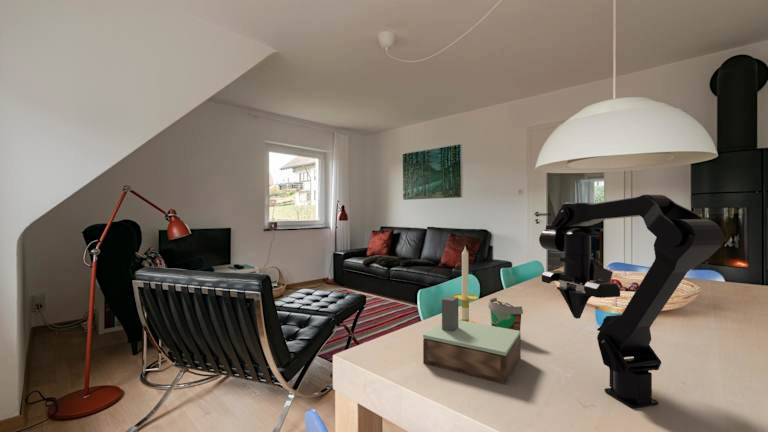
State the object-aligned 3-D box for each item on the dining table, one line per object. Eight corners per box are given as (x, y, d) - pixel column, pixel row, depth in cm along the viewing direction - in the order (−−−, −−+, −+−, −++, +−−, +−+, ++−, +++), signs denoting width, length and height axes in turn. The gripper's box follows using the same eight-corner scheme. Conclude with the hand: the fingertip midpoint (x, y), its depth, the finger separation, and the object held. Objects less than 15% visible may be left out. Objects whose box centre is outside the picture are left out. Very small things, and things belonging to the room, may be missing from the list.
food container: (479, 329, 109) (479, 298, 109) (495, 327, 111) (495, 297, 111) (506, 343, 97) (506, 308, 97) (523, 340, 99) (523, 306, 99)
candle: (482, 332, 107) (482, 247, 107) (450, 330, 108) (450, 246, 108) (478, 322, 117) (478, 244, 116) (449, 320, 118) (449, 243, 118)
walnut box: (520, 358, 87) (520, 335, 87) (505, 384, 74) (505, 357, 74) (447, 342, 98) (447, 321, 98) (423, 363, 85) (423, 339, 84)
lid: (520, 333, 87) (520, 300, 87) (505, 355, 74) (505, 315, 74) (447, 320, 98) (447, 290, 98) (423, 338, 84) (423, 303, 84)
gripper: (640, 257, 74) (640, 328, 74) (575, 249, 93) (575, 305, 93) (598, 259, 72) (598, 332, 72) (540, 250, 90) (540, 308, 90)
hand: (577, 318), depth 82 cm, fingers closed
